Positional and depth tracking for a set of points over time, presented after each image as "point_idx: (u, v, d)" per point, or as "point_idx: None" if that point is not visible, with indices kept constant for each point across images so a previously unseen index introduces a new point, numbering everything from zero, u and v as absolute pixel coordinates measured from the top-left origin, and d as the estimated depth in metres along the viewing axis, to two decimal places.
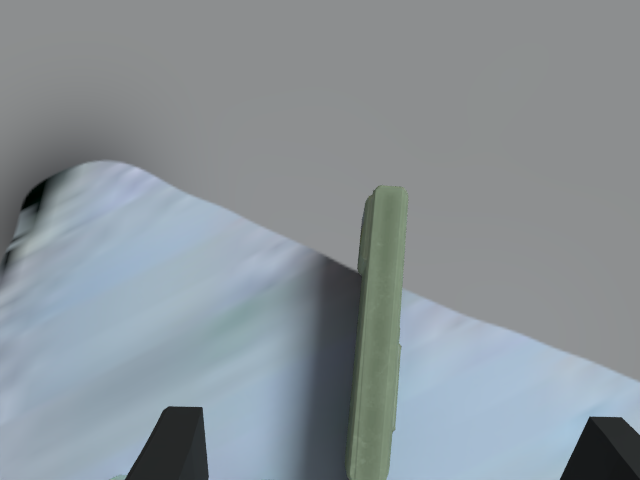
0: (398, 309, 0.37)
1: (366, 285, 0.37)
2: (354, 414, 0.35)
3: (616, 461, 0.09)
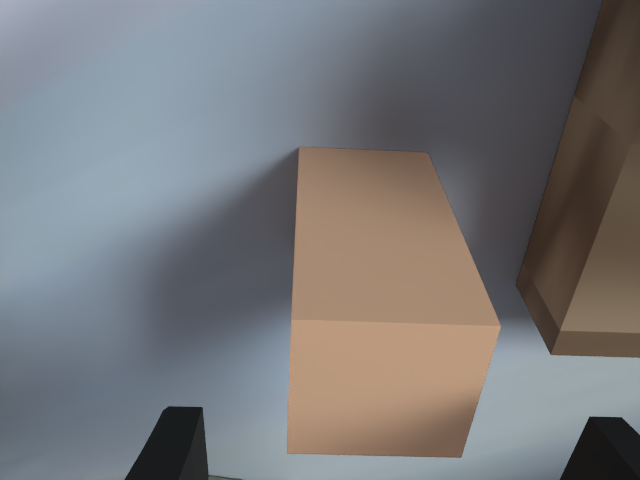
0: None
1: None
2: None
3: (616, 461, 0.09)
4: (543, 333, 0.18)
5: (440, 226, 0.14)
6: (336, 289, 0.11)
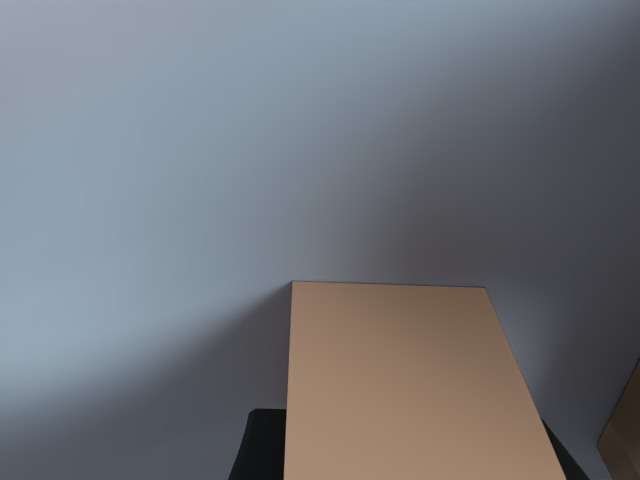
0: None
1: None
2: None
3: None
4: None
5: (533, 478, 0.08)
6: None
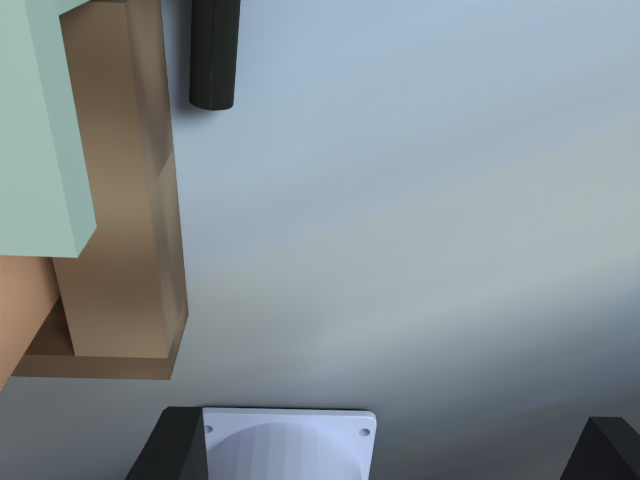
0: None
1: None
2: None
3: (616, 461, 0.09)
4: None
5: None
6: None
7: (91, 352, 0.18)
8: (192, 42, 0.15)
